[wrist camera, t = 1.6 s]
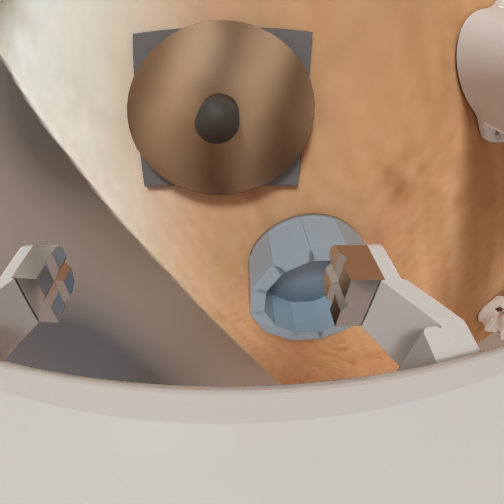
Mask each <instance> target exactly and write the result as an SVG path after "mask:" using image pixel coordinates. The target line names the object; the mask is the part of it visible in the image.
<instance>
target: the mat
mask: <svg viewBox="0 0 504 504" xmlns="http://www.w3.org/2000/svg"><path fill="white" fill-rule="evenodd" d="M261 29H263V30H265V31H267V32H269V33H271V34H273V35H274V36H276V37H277V38H279V39H280V40H282V41H283V42H284V43H285V44H286V45H287V46H288V47H289V48H290V49H292V51H293V52H294V53H295V54H296V55H297V57H298V58H299V59H300V61H301V62H302V64H303V66H304V68H305V69H306V71H307V74H308V76H309V70H310V57H311V44H312V32H307V31H298V30H288V29H276V28H261ZM179 30H181V29H171V30H161V31H152V32H144V33H137V34H133V61H134V76H135V73H136V71H137V70H138V68H139V66H140V64H141V63H142V61H143V60H144V59H145V57H146V56H147V55H148V54H149V52H150V51H151V50H152V49H153V48H154V47H156V46H157V45H158V44H159V43H160V42H161V41H163V40H164V39H165V38H167V37H168V36H170V35H171V34H173V33H175V32H177V31H179ZM301 152H302V151H301ZM300 161H301V153H300V154H299V156H298V157H297V158H296V159H295V161H294V162H293V163H292V164H291V165H290V166H289V167H288V168H287V169H286V170H285V171H284V172H283V173H281V174H280V175H279V176H277V177H276V178H274V179H273V180H271V181H269V182H268V183H266V184H264V185H288V186H298V179H299V170H300ZM141 162H142V170H143V178H144V185H145V186H173V185H175V184H173V183H172V182H170V181H168V180H166V179H165V178H164V177H162V176H161V175H159V174H158V173H157V172H156V171H155V170H154V169H153V168H152V167H151V166H150V165H149V164H148V163H147V162H146V161H145V159H144V158H143V157H142V155H141Z"/></svg>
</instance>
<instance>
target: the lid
mask: <svg viewBox="0 0 504 504" xmlns="http://www.w3.org/2000/svg"><path fill="white" fill-rule="evenodd" d="M314 107H315V103H314V93H313V89H312V85H311V81H310V79H309V76H308V74H307V71H306V69H305V68H304V66H303V64H302V62H301V61H300V59H299V58H298V57H297V55H296V54H295V53H294V52H293V51H292V49H290V48H289V47H288V46H287V45H286V44H285V43H284V42H283V41H282V40H280V39H279V38H277V37H276V36H274V35H273V34H271V33H269V32H267V31H265V30H263V29H261V28H259V27H256V26H253V25H250V24H247V23H241V22H236V21H222V20H220V21H208V22H203V23H198V24H194V25H191V26H189V27H186V28H183V29H181V30H179V31H177V32H175V33H173V34H171V35H170V36H168V37H167V38H165V39H164V40H163V41H161V42H160V43H159V44H158V45H157V46H156V47H154V48H153V49H152V50H151V51H150V52H149V54H148V55H147V56H146V57H145V59H144V60H143V61H142V63H141V64H140V66H139V68H138V70H137V71H136V73H135V76H134V78H133V80H132V83H131V87H130V91H129V95H128V103H127V117H128V123H129V129H130V132H131V135H132V138H133V140H134V143H135V145H136V147H137V149H138V150H139V152H140V154H141V155H142V157H143V158H144V159H145V161H146V162H147V163H148V164H149V165H150V166H151V167H152V168H153V169H154V170H155V171H156V172H157V173H158V174H159V175H161V176H162V177H164V178H165V179H166V180H168V181H170V182H172V183H173V184H175V185H177V186H180V187H182V188H184V189H187V190H190V191H194V192H197V193H203V194H211V195H227V194H235V193H241V192H245V191H249V190H252V189H255V188H257V187H260V186H262V185H264V184H266V183H268V182H269V181H271V180H273V179H274V178H276V177H277V176H279V175H280V174H281V173H283V172H284V171H285V170H286V169H287V168H288V167H289V166H290V165H291V164H292V163H293V162H294V161H295V159H296V158H297V157H298V156H299V154H300V153H301V151H302V149H303V148H304V146H305V144H306V142H307V140H308V138H309V135H310V132H311V129H312V125H313V119H314Z"/></svg>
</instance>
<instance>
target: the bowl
mask: <svg viewBox="0 0 504 504" xmlns="http://www.w3.org/2000/svg"><path fill="white" fill-rule="evenodd" d="M333 245H364V243H363V241H362V239H361V237H360V235H359V234H358V233H357V232H355V230H354V229H353V228H352V227H351V226H350V225H349V224H347V223H346V222H344V221H343V220H341V219H339V218H336V217H333V216H330V215H325V214H303V215H298V216H294V217H290V218H288V219H285V220H283V221H281V222H279V223H277V224H275V225H274V226H272V227H271V228H269V229H268V230H267V231H266V232H265V233H263V234H262V235H261V237H260V238H259V239H258V240H257V242H256V243H255V245H254V246H253V248H252V250H251V253H250V256H249V261H248V291H249V307H250V315H251V316H252V317H253V318H254V320H255V321H256V322H257V323H258V324H259V325H260V326H261V328H262V329H263V330H264V331H265V332H267V333H270V334H273V335H276V336H279V337H282V338H285V339H288V340H309V339H322V338H324V337H327V336H330V335H332V334H335V333H337V332H340V331H342V330H345V329H347V328H350V327H351V326H344V327H335V325H334V322H333V318H332V315H331V312H330V308H331V304H332V302H330V301H329V300H328V299H327V298H326V295H325V291H324V274H325V270H326V267H327V266H329V265H330V264H331V261H330V258H329V253H330V249H331V247H332V246H333Z"/></svg>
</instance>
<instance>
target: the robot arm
mask: <svg viewBox="0 0 504 504" xmlns="http://www.w3.org/2000/svg"><path fill="white" fill-rule="evenodd" d="M457 69H458V75H459V80H460V84H461V87H462V90H463V93H464V95H465V97H466V99H467V101H468V103H469V105H470V106H471V108H472V109H473V111H474V113H475V114H476V117H477V120H478V125H479V130H480V134H481V136H482V138H483V139H485V140H487V141H489V142H504V0H496V1H495V3H494V4H493V5H492V6H491V7H489V8H485V9H480V10H478V11H476V12H474V13H473V14H471V15H470V16H469V17H468V19H467V20H466V21H465V23H464V25H463V27H462V29H461V32H460V35H459V39H458V44H457ZM495 131H496V132H495ZM329 258H330V261H331V264H330V265H329V266H327V267H326V270H325V274H324V291H325V295H326V298H327V299H328V300H329V301H330V302H332V304H331V308H330V312H331V315H332V318H333V322H334V325H335V327H344V326H362V328H363V329H364V330H365V331H366V332H367V333H368V334H369V335H370V336H371V337H372V338H373V339H374V340H375V341H376V342H377V343H378V344H379V345H380V346H381V347H382V348H383V349H384V350H385V351H386V352H387V353H388V354H389V356H390V357H391V358H392V359H393V360H394V361H395V362H396V363H397V364H398V365H399V368H398V369H397V370H396V372H390V373H384V374H378V375H371V376H364V377H357V378H349V379H341V380H332V381H323V382H312V383H300V384H286V385H267V386H237V387H236V386H234V387H233V386H232V387H231V386H230V387H213V386H211V387H208V386H207V387H206V386H175V385H157V384H143V383H132V382H122V381H112V380H104V379H97V378H89V377H82V376H75V375H69V374H63V373H58V372H52V371H47V370H41V369H36V368H32V367H27V366H23V365H18V364H14V363H9V362H7V361H6V360H5V358H6V357H7V356H8V355H9V354H10V353H11V351H12V350H13V349H14V348H15V347H16V346H17V345H18V344H19V343H20V342H21V340H22V339H23V338H24V337H25V336H26V335H27V334H28V333H29V332H30V331H31V330H32V329H33V328H34V326H35V325H37V323H38V321H44V322H56V323H59V321H60V319H61V317H62V314H63V312H64V309H65V307H66V306H65V303H64V301H65V300H66V299H67V298H69V297H70V296H71V293H72V291H73V286H74V277H73V272H72V270H71V268H70V267H69V266H68V265H67V264H66V263H65V259H66V254H65V252H64V249H63V248H62V247H60V246H46V245H36V246H34V245H26V246H23V247H21V248H20V249H19V251H18V252H17V253H16V255H15V256H14V258H13V259H12V261H11V262H10V264H9V265H8V266H7V268H6V269H5V271H4V273H3V274H2V276H1V277H0V504H504V345H503V346H500V347H497V348H493V349H490V350H487V351H483V352H481V351H480V349H479V347H478V345H477V343H476V341H475V340H474V338H473V336H472V334H471V332H470V330H469V328H468V327H467V325H466V323H465V321H464V320H463V319H461V318H460V317H459V316H457V315H456V314H454V313H453V312H452V311H450V310H449V309H448V308H446V307H445V306H443V305H442V304H441V303H439V302H438V301H436V300H435V299H433V298H432V297H431V296H429V295H428V294H426V293H425V292H424V291H422V290H421V289H419V288H418V287H416V286H415V285H413V284H412V283H410V282H409V281H408V280H406V279H401V278H400V276H399V274H398V272H397V270H396V269H395V267H394V265H393V263H392V262H391V260H390V258H389V257H388V255H387V253H386V251H385V250H384V248H383V246H381V245H380V244H364V245H333V246H332V247H331V249H330V253H329Z"/></svg>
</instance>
